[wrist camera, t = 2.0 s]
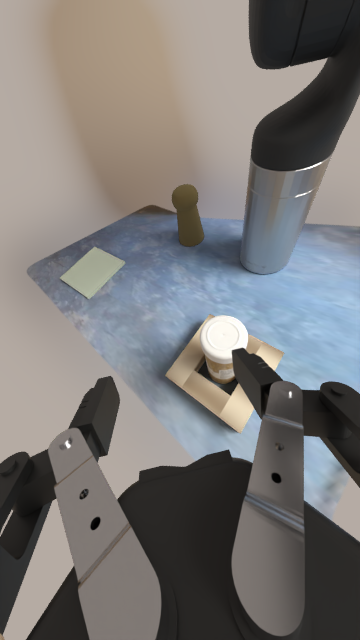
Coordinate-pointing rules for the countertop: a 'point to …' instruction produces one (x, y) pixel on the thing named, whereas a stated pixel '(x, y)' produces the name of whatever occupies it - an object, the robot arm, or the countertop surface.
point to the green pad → (92, 272)
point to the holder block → (209, 395)
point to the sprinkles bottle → (222, 346)
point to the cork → (187, 215)
